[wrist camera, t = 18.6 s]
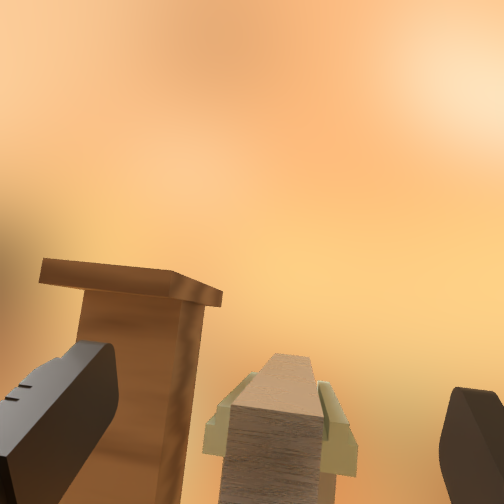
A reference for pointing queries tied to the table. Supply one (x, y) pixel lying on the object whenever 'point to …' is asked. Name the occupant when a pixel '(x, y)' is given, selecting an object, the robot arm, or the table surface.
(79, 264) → the walnut stand
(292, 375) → the tan wooden bar
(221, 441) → the cradle stand
